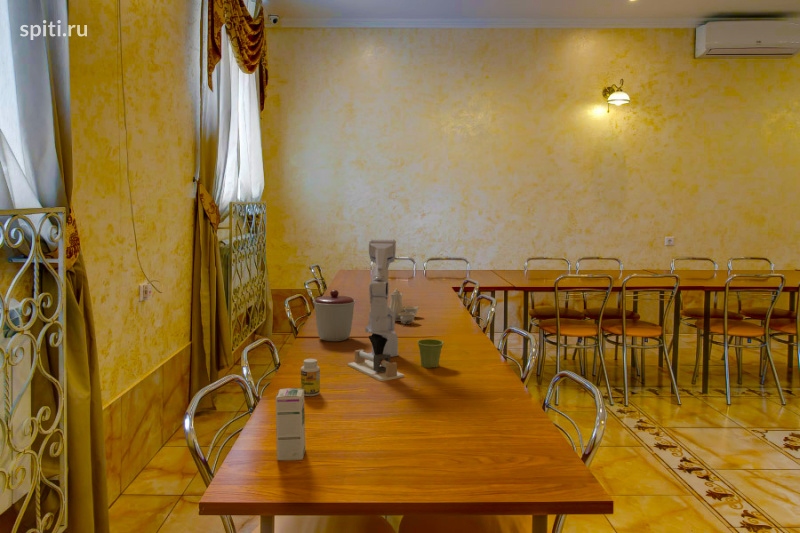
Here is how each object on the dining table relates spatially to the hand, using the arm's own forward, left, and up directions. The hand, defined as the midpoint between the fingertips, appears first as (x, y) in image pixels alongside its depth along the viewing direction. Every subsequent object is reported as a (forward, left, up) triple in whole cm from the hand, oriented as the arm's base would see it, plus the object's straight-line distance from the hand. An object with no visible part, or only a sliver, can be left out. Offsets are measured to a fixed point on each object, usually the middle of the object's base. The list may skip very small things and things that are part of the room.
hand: (378, 356), depth 189 cm
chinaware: (-59, -71, -6) cm, 93 cm away
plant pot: (-20, +3, -6) cm, 21 cm away
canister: (-11, -52, -6) cm, 54 cm away
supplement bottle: (+29, +8, -6) cm, 31 cm away
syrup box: (+51, +44, -6) cm, 67 cm away
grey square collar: (0, +2, -4) cm, 5 cm away
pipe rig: (0, -2, -6) cm, 6 cm away
